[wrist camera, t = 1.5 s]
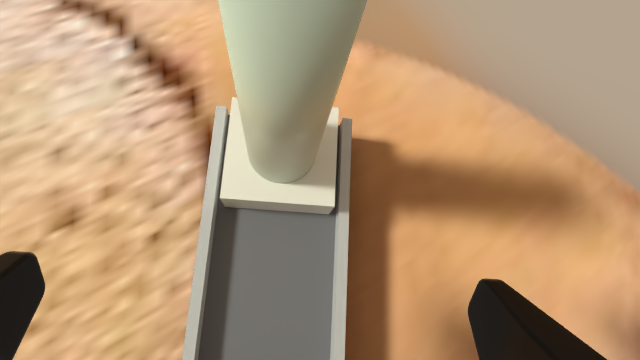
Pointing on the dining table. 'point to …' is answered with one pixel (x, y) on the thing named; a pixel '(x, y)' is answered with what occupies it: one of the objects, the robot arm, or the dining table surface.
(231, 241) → the track
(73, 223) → the dining table surface
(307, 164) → the slider with handle
